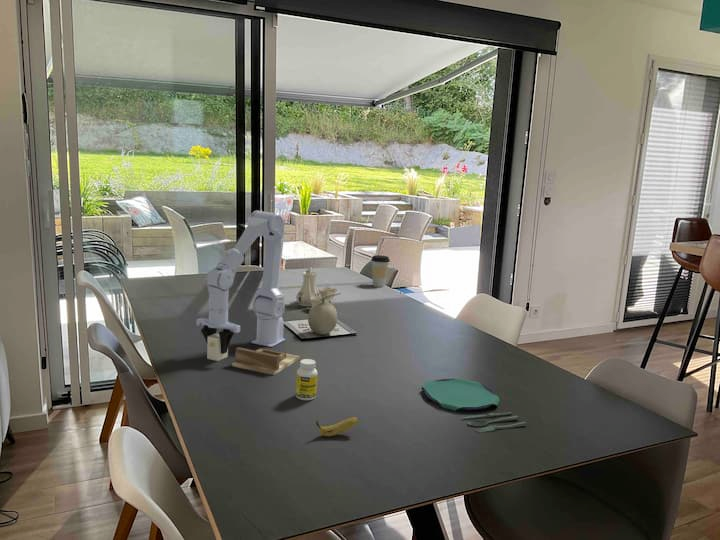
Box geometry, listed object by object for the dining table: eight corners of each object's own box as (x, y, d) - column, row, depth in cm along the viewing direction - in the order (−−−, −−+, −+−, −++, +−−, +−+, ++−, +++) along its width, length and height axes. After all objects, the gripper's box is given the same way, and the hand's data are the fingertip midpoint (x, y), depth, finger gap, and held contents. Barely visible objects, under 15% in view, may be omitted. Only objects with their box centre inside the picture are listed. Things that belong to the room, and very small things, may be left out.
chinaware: (331, 318, 239) (337, 278, 236) (290, 311, 238) (296, 271, 235) (335, 301, 266) (341, 266, 263) (298, 295, 266) (304, 260, 263)
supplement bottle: (297, 401, 152) (299, 365, 150) (294, 393, 157) (295, 358, 155) (318, 400, 153) (320, 364, 151) (314, 392, 158) (315, 357, 156)
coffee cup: (367, 283, 302) (369, 254, 299) (384, 283, 305) (386, 255, 302) (372, 287, 293) (374, 258, 290) (390, 287, 296) (392, 258, 293)
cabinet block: (216, 354, 183) (217, 332, 182) (227, 356, 182) (228, 334, 180) (205, 359, 178) (205, 337, 176) (216, 361, 176) (217, 339, 175)
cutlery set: (472, 382, 173) (473, 375, 173) (534, 429, 146) (535, 420, 145) (411, 388, 167) (411, 380, 166) (463, 438, 139) (464, 429, 139)
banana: (355, 430, 137) (356, 414, 136) (358, 435, 135) (359, 419, 134) (313, 434, 134) (314, 418, 133) (316, 439, 132) (317, 423, 131)
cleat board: (260, 351, 188) (261, 336, 187) (299, 359, 183) (300, 343, 182) (232, 366, 173) (232, 350, 172) (273, 375, 168) (274, 358, 167)
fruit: (300, 334, 208) (302, 293, 205) (317, 327, 218) (319, 288, 215) (325, 340, 203) (327, 298, 201) (341, 333, 214) (344, 292, 211)
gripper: (190, 307, 176) (189, 350, 178) (231, 314, 171) (230, 359, 173) (204, 302, 182) (204, 344, 185) (244, 309, 177) (243, 352, 180)
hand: (217, 351), depth 180 cm, fingers closed on cabinet block, 4 cm apart
